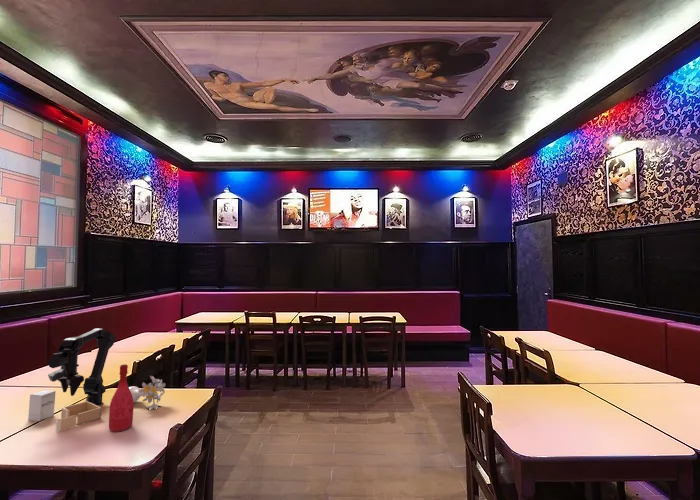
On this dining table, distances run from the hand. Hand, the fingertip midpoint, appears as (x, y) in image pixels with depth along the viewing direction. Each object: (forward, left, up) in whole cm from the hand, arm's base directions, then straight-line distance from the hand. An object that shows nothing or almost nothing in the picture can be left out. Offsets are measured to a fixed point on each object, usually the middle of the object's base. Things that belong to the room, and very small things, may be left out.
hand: (68, 393), depth 181 cm
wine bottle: (-9, +35, -12) cm, 38 cm away
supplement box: (+7, -11, -12) cm, 18 cm away
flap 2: (+6, +15, -12) cm, 20 cm away
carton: (-4, +7, -12) cm, 14 cm away
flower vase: (-30, +15, -12) cm, 36 cm away
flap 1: (+2, +3, -12) cm, 12 cm away
